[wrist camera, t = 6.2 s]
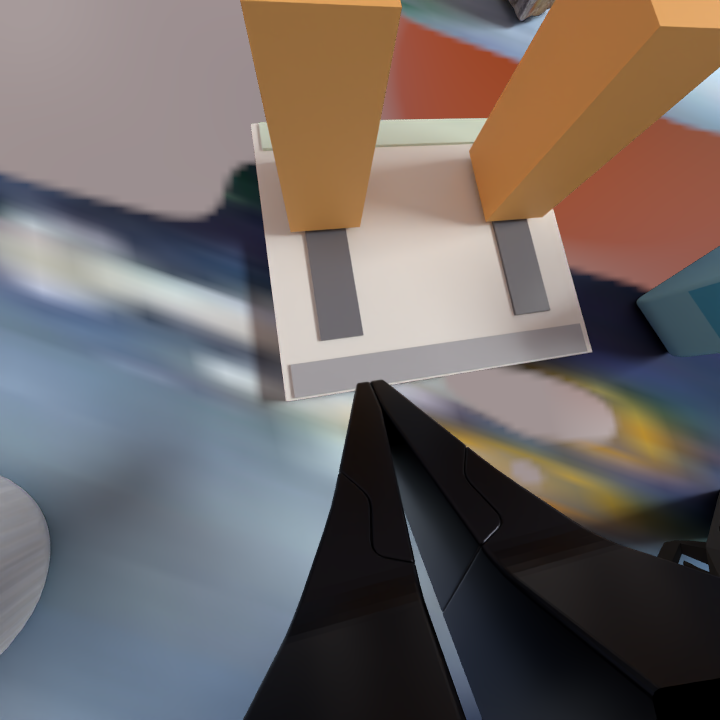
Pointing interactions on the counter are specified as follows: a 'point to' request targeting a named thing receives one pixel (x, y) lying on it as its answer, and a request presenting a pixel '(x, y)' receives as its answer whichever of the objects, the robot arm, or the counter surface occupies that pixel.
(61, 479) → the counter surface
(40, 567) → the ramekin
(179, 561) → the counter surface
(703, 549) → the gun
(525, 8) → the geological specimen
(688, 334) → the data package
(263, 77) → the orange rectangular block
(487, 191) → the tab
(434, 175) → the dip bank
